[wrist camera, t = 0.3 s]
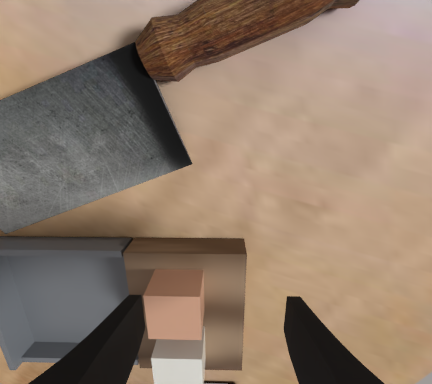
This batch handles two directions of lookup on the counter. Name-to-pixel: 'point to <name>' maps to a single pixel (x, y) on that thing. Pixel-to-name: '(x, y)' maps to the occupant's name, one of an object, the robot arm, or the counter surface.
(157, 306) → the peach matte cube
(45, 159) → the meat cleaver
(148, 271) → the walnut board
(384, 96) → the counter surface
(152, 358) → the pale grey cube
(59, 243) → the charcoal tray
